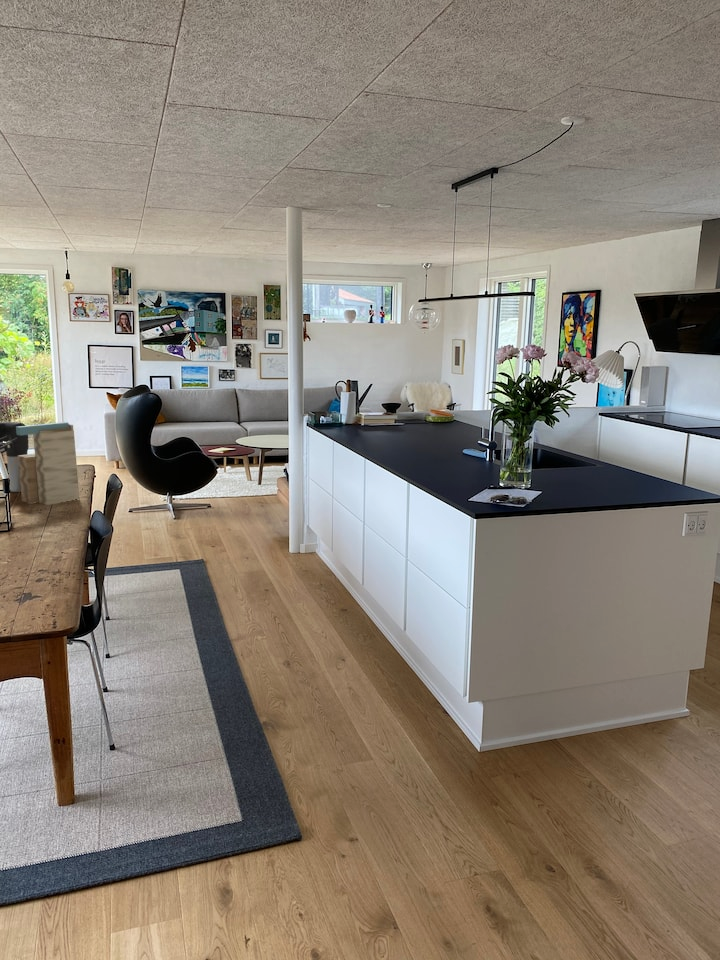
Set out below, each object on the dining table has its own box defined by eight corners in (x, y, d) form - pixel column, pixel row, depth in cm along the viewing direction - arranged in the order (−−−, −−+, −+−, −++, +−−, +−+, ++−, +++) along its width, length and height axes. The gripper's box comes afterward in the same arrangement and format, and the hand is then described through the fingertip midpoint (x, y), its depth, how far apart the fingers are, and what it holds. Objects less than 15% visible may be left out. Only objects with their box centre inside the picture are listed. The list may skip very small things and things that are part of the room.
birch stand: (39, 502, 332) (32, 426, 325) (70, 496, 343) (64, 423, 336) (47, 505, 327) (40, 428, 320) (79, 499, 338) (73, 425, 331)
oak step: (22, 500, 335) (17, 455, 331) (51, 495, 345) (47, 451, 341) (30, 503, 330) (25, 457, 326) (60, 498, 340) (56, 453, 336)
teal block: (16, 434, 318) (15, 426, 318) (65, 429, 334) (64, 422, 334) (20, 435, 316) (19, 427, 315) (69, 430, 332) (68, 422, 331)
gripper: (-16, 448, 302) (19, 432, 313) (-33, 445, 310) (1, 429, 321) (-8, 465, 305) (25, 448, 316) (-26, 461, 313) (8, 445, 325)
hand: (13, 438), depth 319 cm, fingers open, 8 cm apart
